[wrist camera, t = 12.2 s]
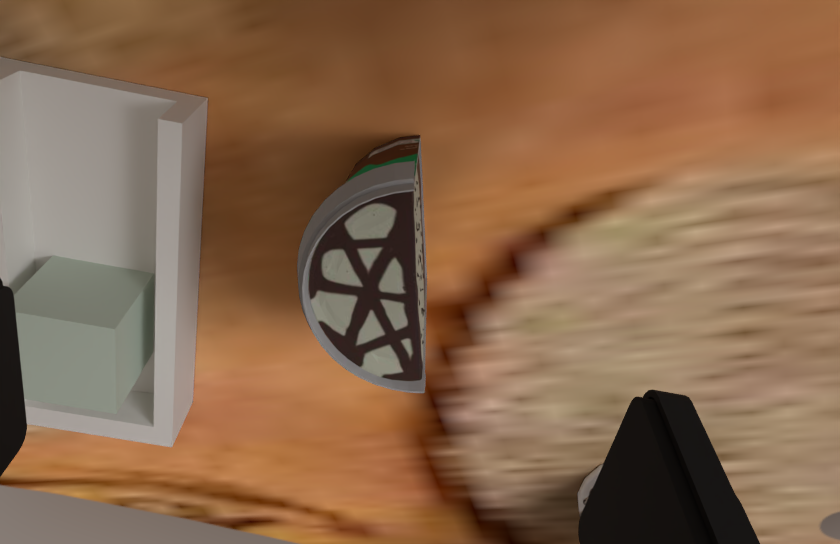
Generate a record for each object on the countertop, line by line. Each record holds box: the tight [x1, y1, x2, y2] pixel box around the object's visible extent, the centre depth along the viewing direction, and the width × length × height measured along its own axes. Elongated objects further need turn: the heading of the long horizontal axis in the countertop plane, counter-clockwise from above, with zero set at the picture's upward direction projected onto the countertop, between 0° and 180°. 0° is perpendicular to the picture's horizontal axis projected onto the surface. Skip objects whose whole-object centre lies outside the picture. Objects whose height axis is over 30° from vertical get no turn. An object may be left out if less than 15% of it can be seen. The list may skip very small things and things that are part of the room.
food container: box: [297, 135, 427, 393], centre depth 38 cm, size 12×6×10 cm, turn 3°
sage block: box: [14, 255, 154, 414], centre depth 42 cm, size 6×6×6 cm
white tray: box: [0, 57, 208, 447], centre depth 42 cm, size 22×20×4 cm
